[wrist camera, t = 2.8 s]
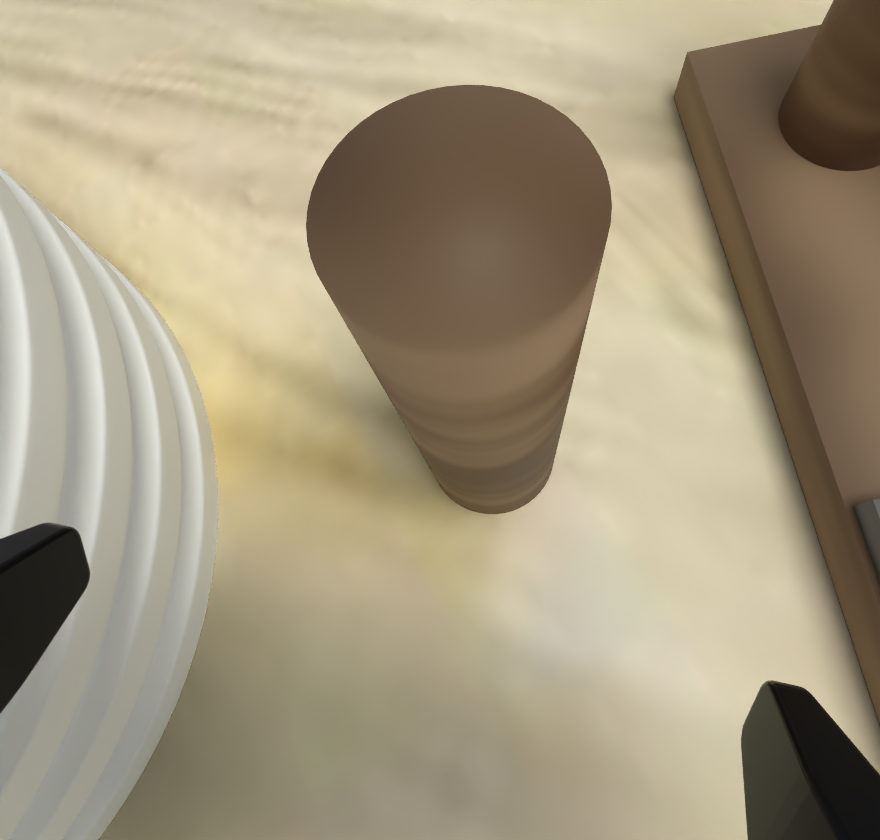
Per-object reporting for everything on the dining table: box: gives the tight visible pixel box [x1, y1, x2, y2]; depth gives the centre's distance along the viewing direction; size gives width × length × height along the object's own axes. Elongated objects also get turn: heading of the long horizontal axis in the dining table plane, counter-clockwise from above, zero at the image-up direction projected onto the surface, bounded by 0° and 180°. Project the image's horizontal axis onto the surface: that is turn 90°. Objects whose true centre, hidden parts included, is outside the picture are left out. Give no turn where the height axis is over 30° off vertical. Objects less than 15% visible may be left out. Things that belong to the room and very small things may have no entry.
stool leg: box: [306, 85, 612, 514], centre depth 14 cm, size 4×4×13 cm
